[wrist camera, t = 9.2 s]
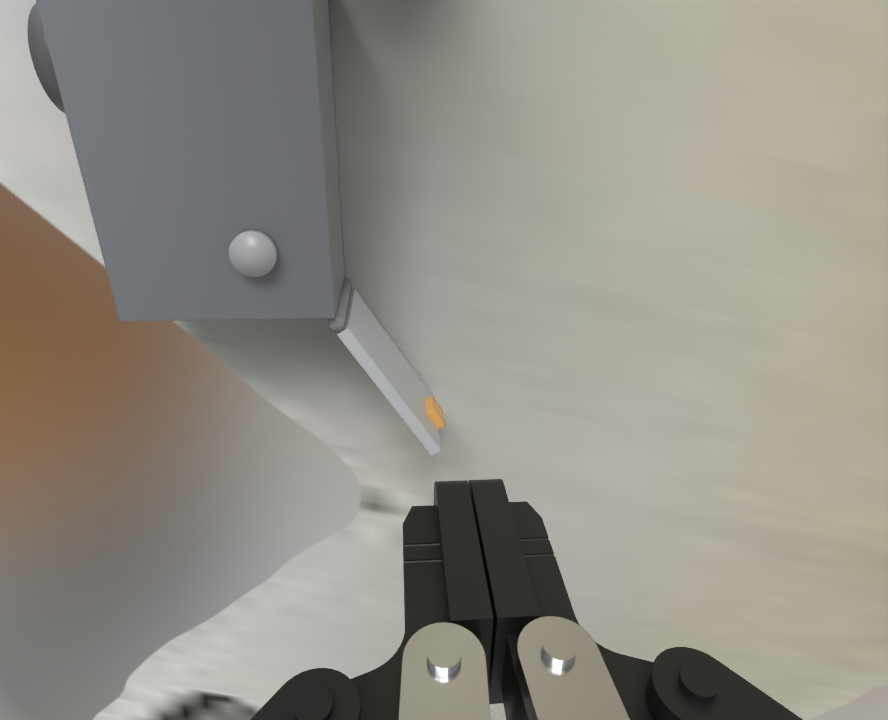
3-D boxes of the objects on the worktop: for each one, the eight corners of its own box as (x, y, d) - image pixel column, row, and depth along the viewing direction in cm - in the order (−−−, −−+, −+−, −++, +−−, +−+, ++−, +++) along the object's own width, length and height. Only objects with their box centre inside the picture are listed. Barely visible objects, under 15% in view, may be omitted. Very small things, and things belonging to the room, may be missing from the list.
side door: (425, 402, 45) (430, 457, 38) (336, 282, 40) (325, 322, 33) (440, 394, 44) (449, 447, 38) (353, 271, 39) (345, 310, 33)
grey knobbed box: (73, -42, 30) (-38, -82, 23) (326, -32, 32) (305, -67, 24) (145, 277, 39) (83, 329, 31) (345, 276, 40) (333, 325, 32)
